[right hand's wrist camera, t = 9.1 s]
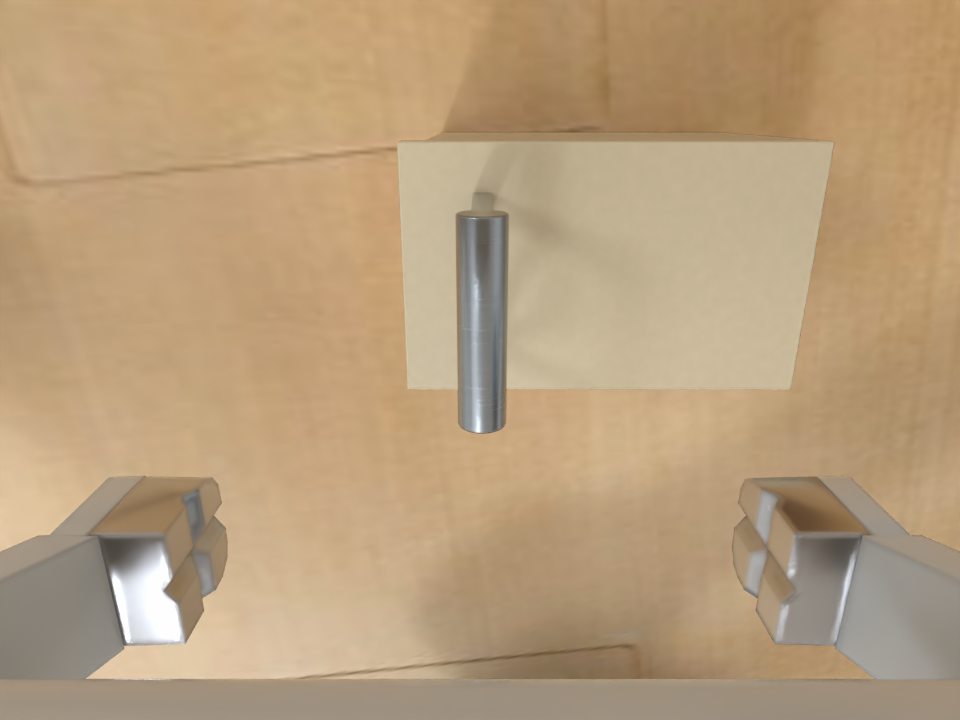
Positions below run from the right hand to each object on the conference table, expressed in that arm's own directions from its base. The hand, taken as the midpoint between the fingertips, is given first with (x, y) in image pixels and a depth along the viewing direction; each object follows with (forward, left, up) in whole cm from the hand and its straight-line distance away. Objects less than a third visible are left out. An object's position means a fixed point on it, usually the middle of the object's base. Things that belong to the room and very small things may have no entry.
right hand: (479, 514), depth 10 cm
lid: (+3, +4, -17) cm, 18 cm away
